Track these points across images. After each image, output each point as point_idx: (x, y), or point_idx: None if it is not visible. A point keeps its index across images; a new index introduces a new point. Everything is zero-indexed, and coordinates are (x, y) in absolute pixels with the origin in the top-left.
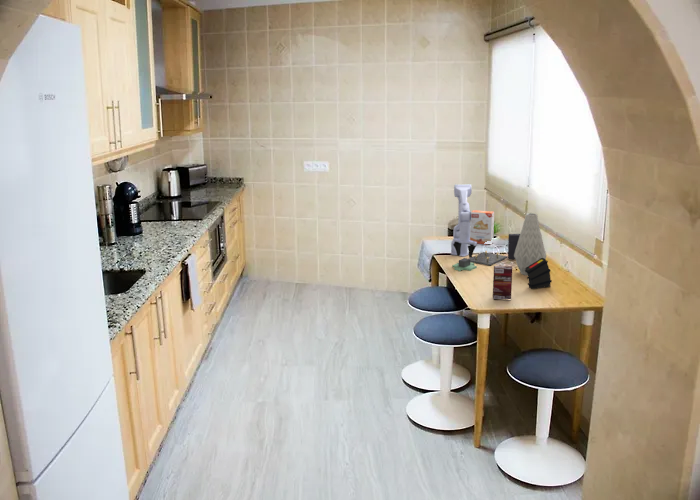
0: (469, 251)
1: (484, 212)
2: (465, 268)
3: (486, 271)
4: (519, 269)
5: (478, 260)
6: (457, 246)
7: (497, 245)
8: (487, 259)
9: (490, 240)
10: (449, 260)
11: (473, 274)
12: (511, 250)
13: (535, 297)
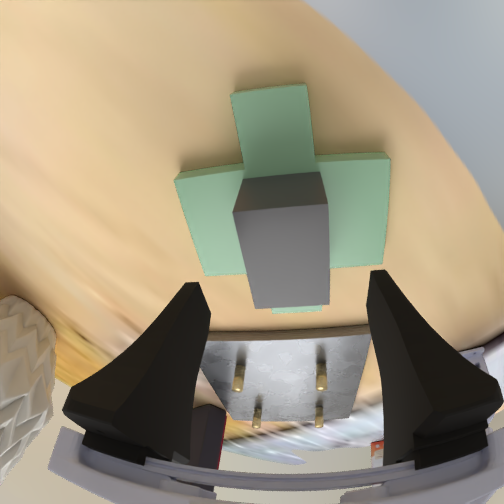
0: (148, 346)
1: None
2: (225, 170)
3: (104, 243)
4: (18, 313)
5: (291, 357)
6: (412, 389)
7: (350, 446)
8: (236, 375)
9: (373, 455)
10: (470, 279)
11: (90, 123)
12: (196, 441)
13: None
